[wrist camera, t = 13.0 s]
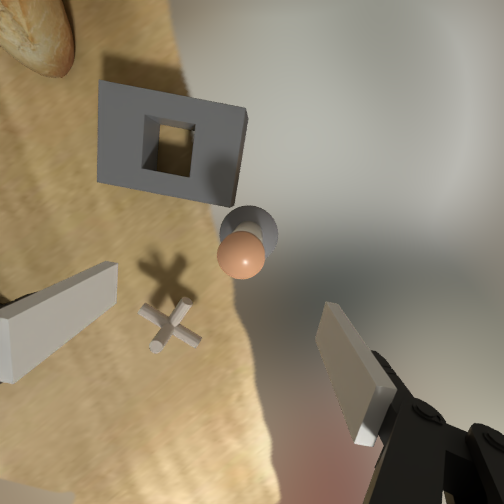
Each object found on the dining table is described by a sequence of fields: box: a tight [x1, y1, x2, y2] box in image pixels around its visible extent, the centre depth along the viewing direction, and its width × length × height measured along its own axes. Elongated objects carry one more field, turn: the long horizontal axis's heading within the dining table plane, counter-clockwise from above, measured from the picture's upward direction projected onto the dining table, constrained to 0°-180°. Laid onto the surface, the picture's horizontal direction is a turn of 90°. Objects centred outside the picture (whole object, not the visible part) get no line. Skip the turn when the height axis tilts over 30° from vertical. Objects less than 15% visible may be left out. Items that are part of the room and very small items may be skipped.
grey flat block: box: [97, 80, 248, 208], centre depth 32 cm, size 18×12×4 cm, turn 79°
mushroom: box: [217, 221, 265, 279], centre depth 31 cm, size 5×5×12 cm
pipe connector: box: [138, 297, 202, 353], centre depth 36 cm, size 10×10×10 cm
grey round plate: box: [220, 206, 278, 258], centre depth 37 cm, size 9×9×1 cm
